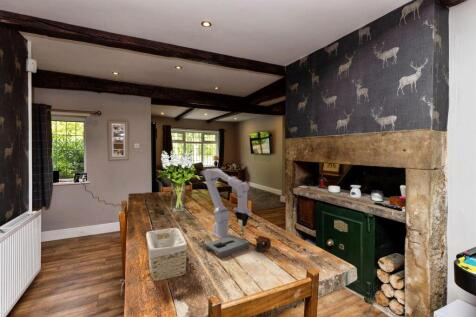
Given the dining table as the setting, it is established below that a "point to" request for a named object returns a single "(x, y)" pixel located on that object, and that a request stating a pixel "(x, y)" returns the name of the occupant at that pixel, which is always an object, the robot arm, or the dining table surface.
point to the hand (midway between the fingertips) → (242, 224)
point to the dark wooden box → (260, 241)
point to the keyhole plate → (227, 246)
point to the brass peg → (241, 227)
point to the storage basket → (166, 254)
